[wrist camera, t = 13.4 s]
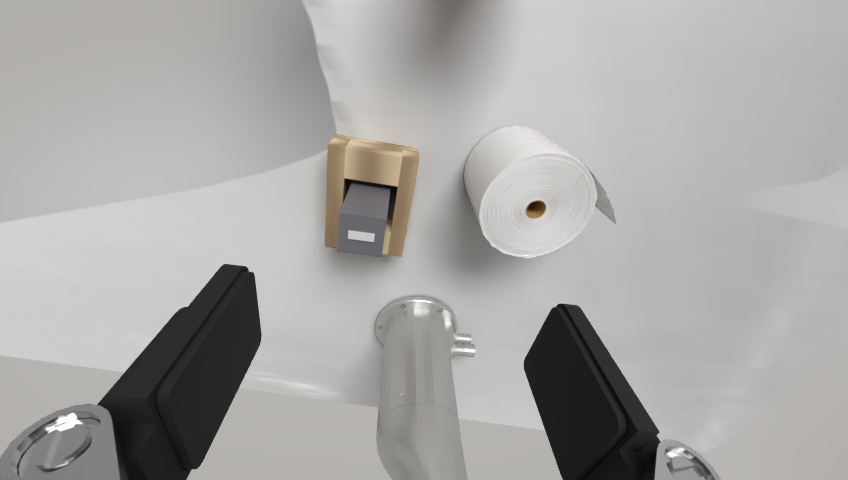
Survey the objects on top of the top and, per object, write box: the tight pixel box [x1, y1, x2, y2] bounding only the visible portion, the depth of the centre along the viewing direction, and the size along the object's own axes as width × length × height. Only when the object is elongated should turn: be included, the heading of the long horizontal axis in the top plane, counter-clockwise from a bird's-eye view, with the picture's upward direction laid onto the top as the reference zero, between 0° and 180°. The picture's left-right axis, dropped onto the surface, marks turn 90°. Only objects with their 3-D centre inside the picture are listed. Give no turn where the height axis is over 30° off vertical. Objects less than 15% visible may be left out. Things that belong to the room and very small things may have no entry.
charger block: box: [338, 180, 391, 257], centre depth 33 cm, size 4×4×9 cm
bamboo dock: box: [325, 134, 419, 256], centre depth 36 cm, size 9×12×4 cm
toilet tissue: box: [464, 126, 616, 258], centre depth 33 cm, size 11×12×10 cm
